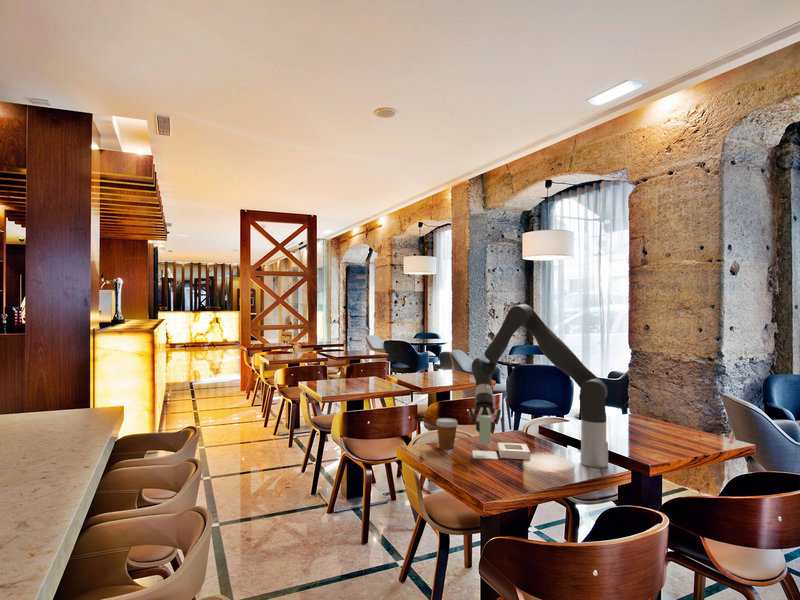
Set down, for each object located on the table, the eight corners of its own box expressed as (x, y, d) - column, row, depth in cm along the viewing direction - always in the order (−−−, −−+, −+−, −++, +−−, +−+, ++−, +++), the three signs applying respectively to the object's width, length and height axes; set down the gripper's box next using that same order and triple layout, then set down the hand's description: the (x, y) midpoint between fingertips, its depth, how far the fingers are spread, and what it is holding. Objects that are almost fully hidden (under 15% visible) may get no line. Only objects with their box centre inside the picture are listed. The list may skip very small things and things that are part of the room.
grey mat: (496, 452, 196) (496, 451, 196) (498, 459, 186) (498, 458, 186) (472, 451, 198) (472, 450, 198) (473, 458, 188) (473, 457, 188)
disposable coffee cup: (447, 452, 195) (447, 423, 196) (431, 447, 202) (431, 419, 203) (462, 448, 202) (462, 420, 202) (445, 443, 209) (446, 416, 209)
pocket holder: (525, 450, 200) (526, 443, 200) (530, 459, 188) (530, 451, 188) (497, 449, 201) (497, 442, 201) (500, 457, 189) (500, 450, 189)
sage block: (489, 441, 194) (490, 415, 195) (490, 444, 190) (491, 417, 190) (478, 440, 195) (479, 414, 195) (479, 443, 190) (479, 417, 191)
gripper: (467, 391, 201) (467, 425, 189) (501, 392, 199) (503, 427, 187) (467, 401, 206) (467, 435, 194) (500, 402, 205) (502, 437, 192)
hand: (485, 431), depth 191 cm, fingers closed on sage block, 4 cm apart
